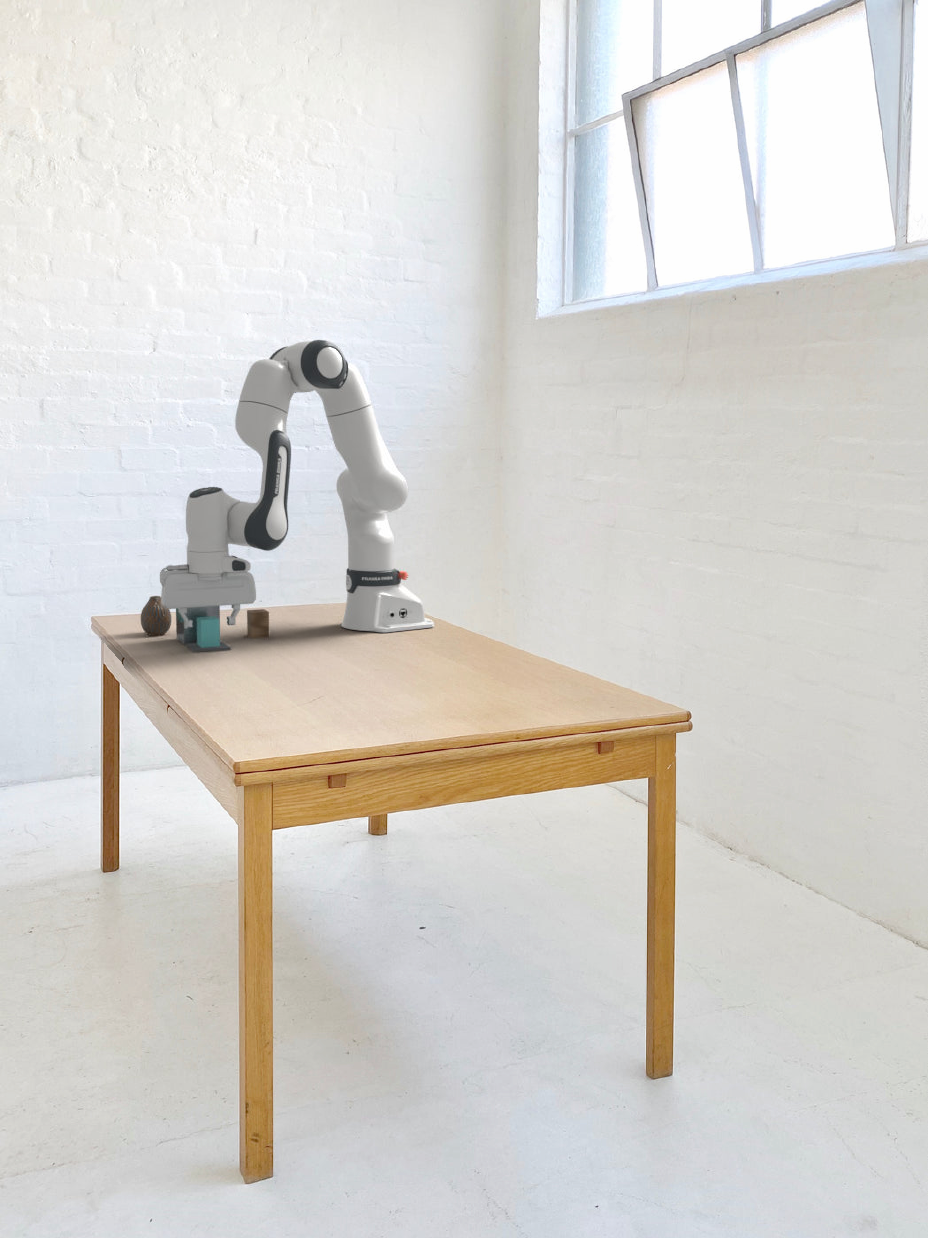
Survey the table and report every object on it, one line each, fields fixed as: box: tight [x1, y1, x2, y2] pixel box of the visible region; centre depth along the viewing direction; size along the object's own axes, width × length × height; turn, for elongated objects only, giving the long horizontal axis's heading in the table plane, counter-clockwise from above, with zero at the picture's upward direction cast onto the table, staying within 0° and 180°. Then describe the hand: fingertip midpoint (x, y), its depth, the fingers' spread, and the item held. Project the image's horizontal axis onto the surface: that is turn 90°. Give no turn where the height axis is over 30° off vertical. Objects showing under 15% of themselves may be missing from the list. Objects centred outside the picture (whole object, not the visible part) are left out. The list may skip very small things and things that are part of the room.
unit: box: [175, 606, 221, 646], centre depth 268 cm, size 8×8×10 cm
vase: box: [140, 595, 172, 636], centre depth 276 cm, size 7×7×9 cm
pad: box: [186, 640, 232, 653], centre depth 261 cm, size 8×7×1 cm
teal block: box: [197, 616, 221, 648], centre depth 260 cm, size 4×4×6 cm
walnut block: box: [246, 608, 270, 640], centre depth 275 cm, size 4×4×6 cm
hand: (210, 626), depth 260 cm, fingers open, 8 cm apart
